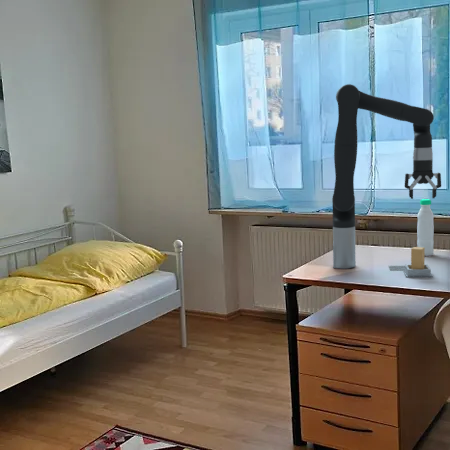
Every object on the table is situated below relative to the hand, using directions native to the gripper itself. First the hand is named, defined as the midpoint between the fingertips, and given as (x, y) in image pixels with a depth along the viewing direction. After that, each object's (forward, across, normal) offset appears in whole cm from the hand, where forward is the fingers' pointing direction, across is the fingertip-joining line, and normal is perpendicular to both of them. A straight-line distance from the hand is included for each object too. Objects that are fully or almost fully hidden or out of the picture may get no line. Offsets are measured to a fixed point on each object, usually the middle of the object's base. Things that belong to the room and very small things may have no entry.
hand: (422, 198), depth 265 cm
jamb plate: (+28, -8, -7) cm, 30 cm away
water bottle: (+28, +4, +22) cm, 36 cm away
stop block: (+27, -4, -18) cm, 33 cm away
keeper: (+28, -4, -18) cm, 34 cm away
